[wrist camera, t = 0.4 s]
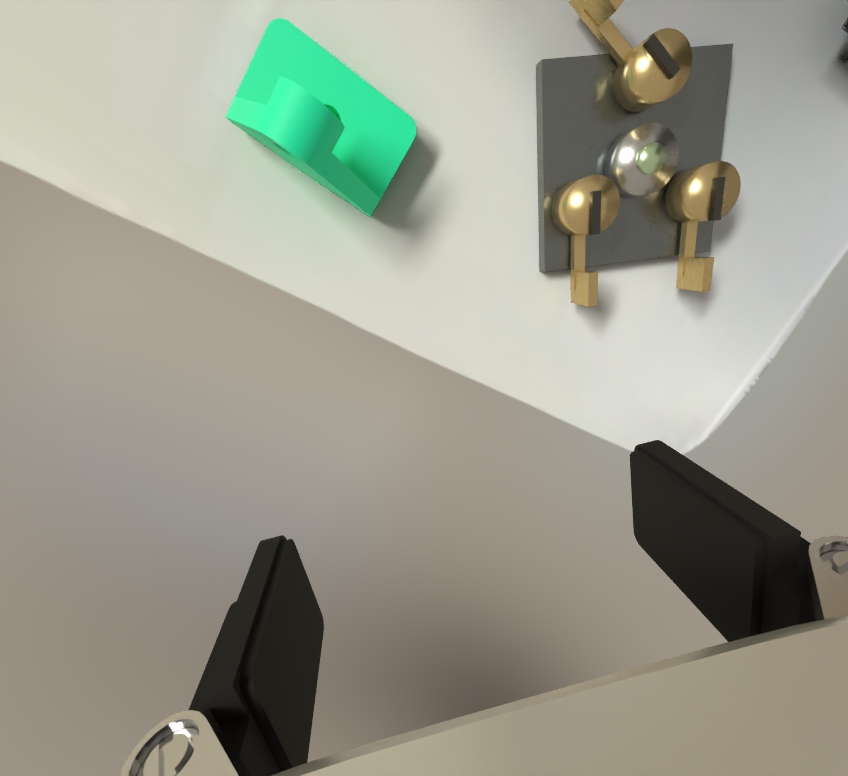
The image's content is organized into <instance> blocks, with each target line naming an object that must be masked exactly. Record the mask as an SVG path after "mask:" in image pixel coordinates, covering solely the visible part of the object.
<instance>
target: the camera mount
mask: <svg viewBox="0 0 848 776" xmlns="http://www.w3.org/2000/svg"><path fill="white" fill-rule="evenodd" d="M226 118H227V119H228V120H229V121H231V122H232V123H233V124H234V125H236V126H237V127H239V128H240V129H242V130H243V131H245V132H246V133H248V134H249V135H251V136H252V137H253V138H255V139H256V140H258V141H259V142H261V143H262V144H264V145H265V146H267V147H268V148H270V149H271V150H272V151H274V152H275V153H277V154H278V155H279V156H280V157H282V158H283V159H284V160H286V161H287V162H289V163H290V164H292V165H293V166H295V167H296V168H298V169H299V170H301V171H302V172H303V173H305V174H306V175H308V176H309V177H311V178H312V179H314V180H315V181H317V182H318V183H320V184H321V185H322V186H324V187H325V188H327V189H328V190H330V191H331V192H334V193H335V194H337V195H338V196H340V197H341V198H343V199H344V200H346V201H347V202H348V203H350V204H351V205H353V206H354V207H356V208H357V209H359V210H360V211H362V212H363V213H365V214H366V215H367V216H369V217H371V215H372V213H373V212H374V210H375V208H376V206H377V205H378V203H379V201H380V199H381V198H382V196H383V194H384V192H385V191H386V189H387V187H388V185H389V184H390V182H391V180H392V178H393V177H394V175H395V173H396V171H397V170H398V168H399V166H400V164H401V163H402V161H403V159H404V157H405V155H406V154H407V152H408V150H409V148H410V147H411V145H412V143H413V141H414V138H415V136H416V125H415V122H414V120H413V119H412V118H411V117H410V116H409V115H408V114H406V113H405V112H404V111H403V110H401V109H400V108H399V107H397V106H396V105H395V104H394V103H392V102H391V101H390V100H389V99H387V98H386V97H385V96H383V95H382V94H381V93H380V92H378V91H377V90H376V89H374V88H373V87H372V86H371V85H369V84H368V83H367V82H366V81H364V80H363V79H362V78H360V77H359V76H358V75H357V74H355V73H354V72H353V71H352V70H350V69H349V68H348V67H346V66H345V65H344V64H343V63H341V62H340V61H339V60H337V59H336V58H335V57H334V56H332V55H331V54H330V53H329V52H327V51H326V50H325V49H323V48H322V47H321V46H320V45H318V44H317V43H316V42H314V41H313V40H312V39H311V38H309V37H308V36H307V35H306V34H304V33H303V32H302V31H300V30H299V29H298V28H297V27H295V26H294V25H293V24H292V23H290V22H289V21H287V20H285V19H281V18H278V19H274V20H273V21H271V22H270V23H269V25H268V27H267V29H266V31H265V33H264V35H263V37H262V40H261V42H260V44H259V46H258V48H257V50H256V52H255V55H254V57H253V59H252V61H251V63H250V65H249V68H248V70H247V72H246V74H245V76H244V78H243V80H242V83H241V85H240V87H239V89H238V91H237V93H236V95H235V98H234V100H233V102H232V104H231V106H230V108H229V111H228V113H227V115H226Z"/></svg>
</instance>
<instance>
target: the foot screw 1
mask: <svg viewBox="0 0 848 776" xmlns="http://www.w3.org/2000/svg"><path fill="white" fill-rule="evenodd" d="M619 206H620V196H619V192H618V189H617V187H616V185H615V184H614V182H613V181H612V180H611V179H609V178H608V177H606V176H603V175H590V176H587V177H584V178H581V179H578V180H575V181H572V182H569V183H567V184H566V185H564V186H563V187H562V188H561V189H560V190H559V191H558V192H557V194H556V196H555V198H554V200H553V203H552V219H553V222H554V224H555V226H556V227H557V228H558V229H559V230H560V231H561V232H562V233H564V234H566V235H570V236H571V286H570V289H571V303H575V304H579V305H583V306H586V307H591V306H597V285H598V272H592V271H585V241H586V235H595V234H600V232H602V231H604V230H605V229H607V228H608V227H609V226H610V225H611V224H612V223H613V221H614V220H615V218H616V216H617V214H618V210H619Z"/></svg>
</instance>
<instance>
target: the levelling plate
mask: <svg viewBox="0 0 848 776" xmlns="http://www.w3.org/2000/svg"><path fill="white" fill-rule="evenodd" d="M732 49H733V44H724V45H712V46H700V47H691V50H692V67H691V72H690V75H689V77H688V79H687V81H686V83H685V85H684V86H683V87H682V89H681V90H680V91H679V92H678V93H677V94H675V95H674V96H672V97H670V98H668V99H666V100H664V101H662V102H660V103H658V104H656V105H654V106H652V107H650V108H648V109H646V110H644V111H641V112H630V111H628V110H626V109H624V108H623V107H622V106H621V105H620V104H619V103H618V101H617V99H616V97H615V94H614V88H613V80H614V74H615V71H616V68H617V66H618V63H617V62H616V61H615V60H614V58H613V57H612V56H611V55H610V54H603V55H591V56H579V57H567V58H555V59H543V60H541V61H540V62H539V63H538V64H537V65H536V93H537V151H538V209H539V267H540V271H541V272H549V271H557V270H565V269H571V236H570V235H566V234H564V233H562V232H561V231H560V230H559V229H558V228H557V227H556V226H555V224H554V222H553V219H552V203H553V200H554V198H555V196H556V194H557V192H558V191H559V190H560V189H561V188H562V187H563V186H564V185H566V184H567V183H569V182H572V181H575V180H578V179H581V178H584V177H587V176H590V175H603V176H606V177H608V178H609V179H611V180H612V181H613V182H614V184H615V185H616V187H617V189H618V192H619V196H620V206H619V210H618V214H617V216H616V218H615V220H614V221H613V223H612V224H611V225H610V226H609V227H608V228H607V229H605V230H604V231H602V232H600V234H595V235H586V241H585V267H589V266H597V265H605V264H613V263H621V262H629V261H637V260H645V259H653V258H661V257H669V256H677V255H679V249H680V238H681V226H682V222H678V221H675V220H674V219H673V218H671V217H670V215H669V214H668V212H667V209H666V205H665V197H666V192H667V189H668V186H669V184H670V183H671V181H672V180H673V179H674V177H675V176H676V175H677V174H679V173H680V172H682V171H684V170H686V169H689V168H693V167H697V166H701V165H705V164H709V163H713V162H718V161H720V156H721V147H722V138H723V129H724V120H725V111H726V102H727V93H728V84H729V75H730V66H731V58H732ZM712 227H713V220H712V221H698V226H697V236H696V246H695V253H700V252H708V251H710V245H711V236H712Z"/></svg>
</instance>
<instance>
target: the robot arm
mask: <svg viewBox="0 0 848 776" xmlns="http://www.w3.org/2000/svg"><path fill="white" fill-rule="evenodd" d="M630 468H631V487H632V507H633V526H634V535H635V538H636V540H637V541H638V544H639V545H640V546H641V547H642V548H643V549H644V550H645V551H646V553H647V554H648V555H649V556H650V557H651V558H652V559H653V560H654V561H655V562H656V564H657V565H658V566H659V567H660V568H661V569H662V570H663V571H664V572H665V573H666V574H667V576H668V577H669V578H670V579H671V580H673V582H674V583H675V584H676V585H677V586H678V587H679V589H680V590H681V591H682V592H683V593H684V594H685V595H686V596H687V597H688V598H689V599H690V600H691V602H692V603H693V604H694V605H695V606H696V607H697V608H698V609H699V610H700V611H701V612H702V614H703V615H704V616H705V617H706V618H707V619H708V620H709V621H710V622H711V623H712V624H713V625H714V627H715V628H716V629H717V630H718V631H719V632H720V633H721V634H722V635H723V636H724V637H725V639H726V640H727V641H728V642H727V643H724V644H720V645H716V646H713V647H709V648H705V649H702V650H698V651H694V652H691V653H687V654H683V655H680V656H676V657H672V658H669V659H665V660H662V661H658V662H654V663H651V664H647V665H644V666H640V667H636V668H633V669H629V670H625V671H622V672H618V673H614V674H611V675H607V676H604V677H600V678H597V679H593V680H589V681H586V682H582V683H579V684H575V685H572V686H568V687H564V688H561V689H557V690H554V691H551V692H547V693H543V694H540V695H536V696H533V697H529V698H526V699H522V700H518V701H515V702H511V703H508V704H504V705H501V706H497V707H494V708H490V709H487V710H483V711H480V712H476V713H473V714H469V715H466V716H463V717H459V718H455V719H452V720H449V721H446V722H442V723H438V724H435V725H431V726H428V727H424V728H421V729H417V730H414V731H410V732H407V733H403V734H400V735H397V736H393V737H390V738H386V739H383V740H380V741H376V742H373V743H369V744H366V745H363V746H360V747H356V748H353V749H350V750H347V751H343V752H340V753H337V754H334V755H331V756H327V757H324V758H321V759H318V760H315V761H311V762H308V763H307V759H308V751H309V743H310V735H311V727H312V719H313V711H314V703H315V695H316V687H317V679H318V671H319V663H320V655H321V647H322V639H323V630H324V623H323V617H322V614H321V611H320V608H319V605H318V603H317V600H316V598H315V595H314V592H313V590H312V587H311V585H310V582H309V579H308V577H307V574H306V572H305V570H304V567H303V564H302V561H301V559H300V556H299V553H298V551H297V549H296V546H295V543H294V541H293V540H292V539H289V540H287V539H286V538H285V537H284V536H278V537H274V538H270V539H266V540H263V541H261V542H260V543H259V545H258V547H257V550H256V553H255V555H254V558H253V560H252V563H251V566H250V568H249V571H248V573H247V576H246V579H245V581H244V584H243V586H242V589H241V592H240V594H239V597H238V599H237V601H236V602H234V603H233V604H232V605H231V606H230V608H229V611H228V613H227V615H226V618H225V620H224V623H223V625H222V628H221V630H220V633H219V635H218V638H217V640H216V643H215V645H214V648H213V650H212V653H211V655H210V658H209V660H208V663H207V665H206V668H205V670H204V673H203V675H202V678H201V680H200V683H199V685H198V688H197V690H196V693H195V695H194V698H193V700H192V703H191V705H190V708H189V710H188V711H184V712H179V713H177V714H174V715H173V716H170V717H168V718H166V719H165V720H164V721H162V722H161V723H159V724H158V725H156V726H155V727H154V728H153V729H152V730H151V731H150V732H149V733H148V734H147V735H146V736H144V737H143V738H142V740H140V742H139V743H138V744H137V746H136V747H135V748H134V749H133V751H132V752H131V754H130V755H129V757H128V759H127V761H126V762H125V764H124V766H123V768H122V771H121V774H120V776H848V537H840V536H830V537H822V538H819V539H817V540H814V541H813V542H812V543H809V542H808V541H806V540H805V539H803V538H802V537H800V535H801V532H800V531H799V530H797V529H796V528H794V527H793V526H791V525H790V524H788V523H787V522H785V521H783V520H782V519H780V518H779V517H777V516H776V515H774V514H773V513H771V512H769V511H768V510H767V509H765V508H763V507H762V506H760V505H759V504H757V503H756V502H754V501H753V500H751V499H749V498H748V497H746V496H745V495H743V494H742V493H740V492H739V491H737V490H736V489H734V488H733V487H731V486H730V485H728V484H726V483H725V482H723V481H722V480H720V479H719V478H717V477H715V476H714V475H713V474H711V473H710V472H708V471H706V470H705V469H703V468H702V467H700V466H698V465H697V464H695V463H693V461H691V460H689V459H688V458H686V457H685V456H683V455H682V454H680V453H679V452H677V451H676V450H674V449H673V448H671V447H669V446H668V445H666V444H665V443H663V442H662V441H659V440H655V441H651V442H647V443H643V444H639V445H637V446H636V447H635V450H634V452H631V454H630Z"/></svg>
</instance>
